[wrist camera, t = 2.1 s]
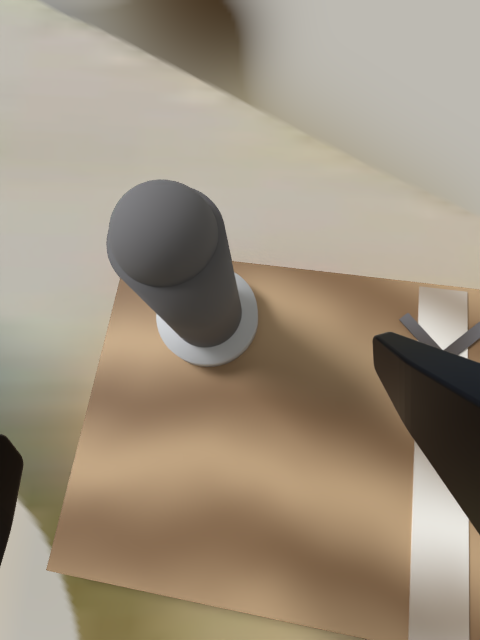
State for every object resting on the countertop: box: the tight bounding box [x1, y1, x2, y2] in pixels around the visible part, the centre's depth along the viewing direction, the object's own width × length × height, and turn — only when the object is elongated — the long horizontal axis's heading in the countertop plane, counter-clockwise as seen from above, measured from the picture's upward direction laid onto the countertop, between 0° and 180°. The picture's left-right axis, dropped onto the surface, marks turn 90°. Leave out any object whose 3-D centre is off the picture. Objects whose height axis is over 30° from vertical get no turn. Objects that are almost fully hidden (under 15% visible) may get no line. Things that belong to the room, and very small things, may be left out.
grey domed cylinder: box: [106, 180, 258, 367], centre depth 15 cm, size 5×5×11 cm
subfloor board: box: [46, 261, 480, 640], centre depth 19 cm, size 16×23×2 cm
